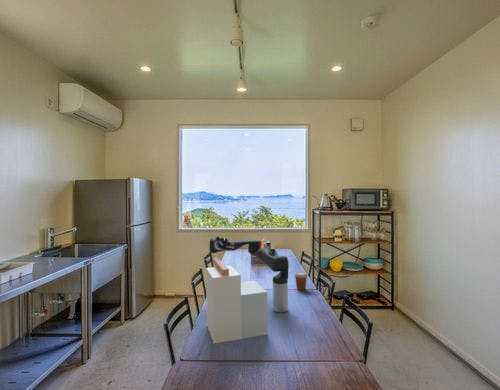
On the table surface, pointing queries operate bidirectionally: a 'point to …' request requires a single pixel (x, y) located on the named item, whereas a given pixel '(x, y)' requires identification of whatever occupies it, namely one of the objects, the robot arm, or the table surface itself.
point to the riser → (234, 306)
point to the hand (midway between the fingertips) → (229, 242)
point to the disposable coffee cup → (301, 280)
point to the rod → (220, 266)
